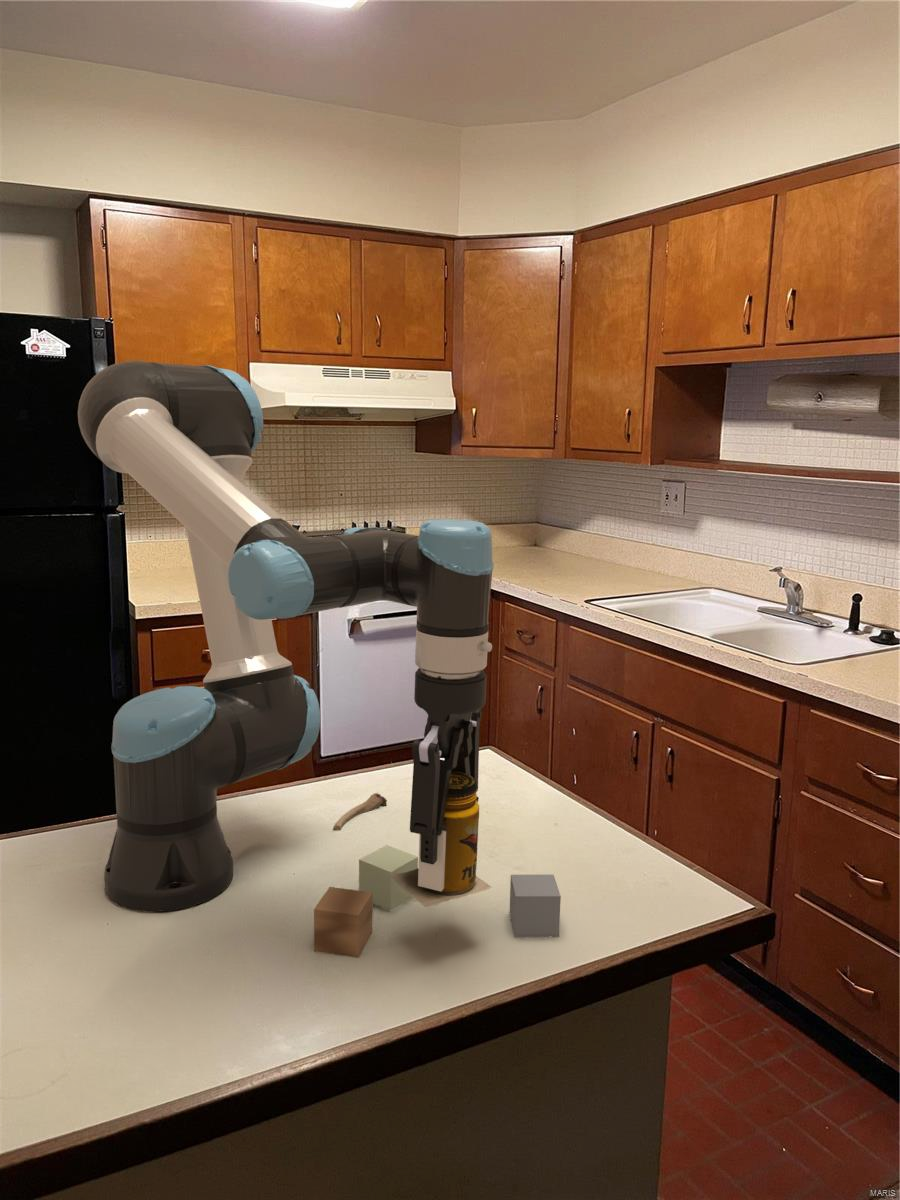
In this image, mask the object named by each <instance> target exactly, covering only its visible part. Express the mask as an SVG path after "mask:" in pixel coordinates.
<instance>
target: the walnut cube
mask: <svg viewBox="0 0 900 1200" xmlns="http://www.w3.org/2000/svg"><path fill="white" fill-rule="evenodd" d="M372 901H373V892H366V891H359V889H356V890H355V889H351V888H350V889H348V888H343V887H342V888H341V887H335V886H329V887H328V889H327V890H326V891H325V892H324V894H323V895H322V896H321V898H320V900H319V901H318V902H317V903H316V904H315V905H316V906H315V907H314V908H313V952H316V953H324V954H330V955H331V954H332V955H335V956H336V955H337V956H343V957H351V958H357V959H358V958H360V956H361V954H362V953H363V951H364V949H365V947H366V945H367V943H368V942H369V940H370V938H371V937H372V935H373V903H372Z"/></svg>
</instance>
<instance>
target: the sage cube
mask: <svg viewBox="0 0 900 1200" xmlns="http://www.w3.org/2000/svg"><path fill="white" fill-rule="evenodd" d="M418 867H419V856H417V855H415V854H412V853H409V852H406V851H403V850H402V849H399V848H396V847H393V846H391V845H389V844H386V845H383V846H382V847H380V848H378V849H377V850H374V851H372V852H370V853H369V854H367V855H365V856H363V857H360V858H359V859H358V890H359V891H366V892H373V901H372V905H375V906H378V907H379V908H382V909H385V910H387V911H389V912H392V911H393V910H394V909H396V908H398V907H399V906H401V905H403V904H404V903H407V901H409V900H411V899H414V898H413V897H412V896H410V894H409V893H407V892H406V891H405V890H404V889H403V888H402V887H401V886H400V885H399V884H398V883H397V882H395V880H394V879H393V878H392V877H391V876H392V875H396V874H398V873H405V872H408V871H412V870H415V869H417V868H418Z"/></svg>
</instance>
